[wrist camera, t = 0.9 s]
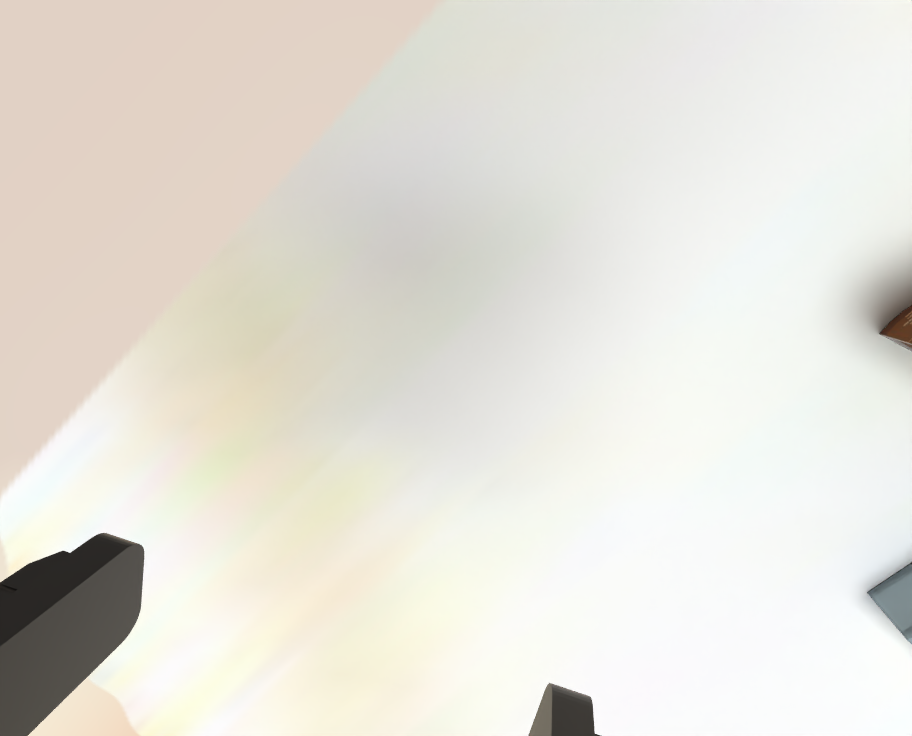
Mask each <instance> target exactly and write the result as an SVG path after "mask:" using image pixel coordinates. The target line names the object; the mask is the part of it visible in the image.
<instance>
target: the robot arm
mask: <svg viewBox="0 0 912 736" xmlns="http://www.w3.org/2000/svg"><path fill="white" fill-rule="evenodd" d="M143 567H144V549H143V547H142V546H141V545H140V544H137V543H134V542H131V541H128V540H125V539H122V538H119V537H116V536H113V535H110V534H107V533H101V534H98V535H96V536H94V537H92V538H91V539H90V540H88V541H87V542H85V543H84V544H82V545H81V546H80V547H78V548H77V549H75V550H74V551H72V552H71V553H68V552H66V551H61V552H58V553H56V554H53V555H50V556H48V557H45V558H42V559H40V560H37V561H35V562H32V563H29V564H28V565H26V566H25V567H23V568H22V569H20V570H18V571H17V572H15V573H14V574H12V575H11V576H9V577H8V578H6V579H5V580H3V581H2V582H0V736H28V735H29V734H30V733H31V732H32V731H33V730H34V729H35V728H36V727H37V726H38V725H39V724H40V722H42V721H43V720H44V719H45V718H46V717H47V716H48V715H49V714H50V713H51V712H52V711H53V710H54V709H55V708H56V707H57V706H58V705H59V704H60V703H61V702H62V701H63V700H64V699H65V698H66V697H67V696H68V695H69V694H70V693H71V692H72V691H73V690H74V689H75V688H76V687H77V686H78V685H79V684H80V683H81V682H82V681H83V680H85V679H86V678H87V677H88V676H89V675H90V674H91V673H92V672H93V671H94V670H95V669H96V668H97V667H98V666H99V665H100V664H101V663H102V662H103V661H104V660H105V659H106V658H107V657H108V656H109V655H110V654H111V653H112V652H113V651H114V650H115V649H116V648H117V647H118V646H119V645H120V644H121V643H122V642H123V641H124V640H125V639H126V637H127V636H128V635H129V633H130V632H131V630H132V629H133V627H134V625H135V623H136V621H137V619H138V616H139V613H140V609H141V597H142V582H143ZM529 736H600V735H597V734H595V733H594V718H593V704H592V700H591V697H590V696H587V695H584V694H581V693H578V692H575V691H572V690H569V689H566V688H563V687H560V686H557V685H554V684H551V683H549V684H548V685H547V687H546V689H545V692H544V695H543V697H542V700H541V703H540V706H539V708H538V711H537V714H536V717H535V719H534V722H533V725H532V728H531V730H530V733H529Z"/></svg>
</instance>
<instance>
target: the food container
mask: <svg viewBox="0 0 912 736" xmlns="http://www.w3.org/2000/svg"><path fill="white" fill-rule="evenodd" d="M880 334H881V335H882V336H884V337H886V338H888V339H890V340H892V341H894V342H895V343H897V344H899V345H901V346H903V347H905V348H907V349H909V350H910V351H912V305H911V306H910V307H908V308H907V309H905V310H904V311H902V312H901V313H900V314H899V315H898V316H896V317H895V318H894V319H893V320H892V321H891V322H890V323H889V324H888V325H887V326H886V327H885V328H884V329H883V330H882V332H881V333H880Z"/></svg>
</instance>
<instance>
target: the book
mask: <svg viewBox="0 0 912 736" xmlns="http://www.w3.org/2000/svg"><path fill="white" fill-rule="evenodd" d="M868 594H869V595H870V596H871V598H872V599H873V600H874V601H875V602H876V604H877V605H878V606H879V607H880V608H881V610H882V611H883V612H884V613H885V614H886V615H887V617H888V618H889V619H890V620H891V621H892V623H893V624H894V625H895V626H896V627H897V628H898V630H899V631H900V632H901V633H902V634H903V636H904V637H905V638H906V639H907V640H908V641H909V642H910V643H911V644H912V563H911V564H909V565H908V566H906V567H905V568H903V569H902V570H900V571H899V572H897V573H896V574H894V575H893V576H891V577H890V578H888V579H887V580H885V581H884V582H882V583H881V584H879V585H878V586H877V587H875V588H874V589H872V590H871V591H869V592H868Z"/></svg>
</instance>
